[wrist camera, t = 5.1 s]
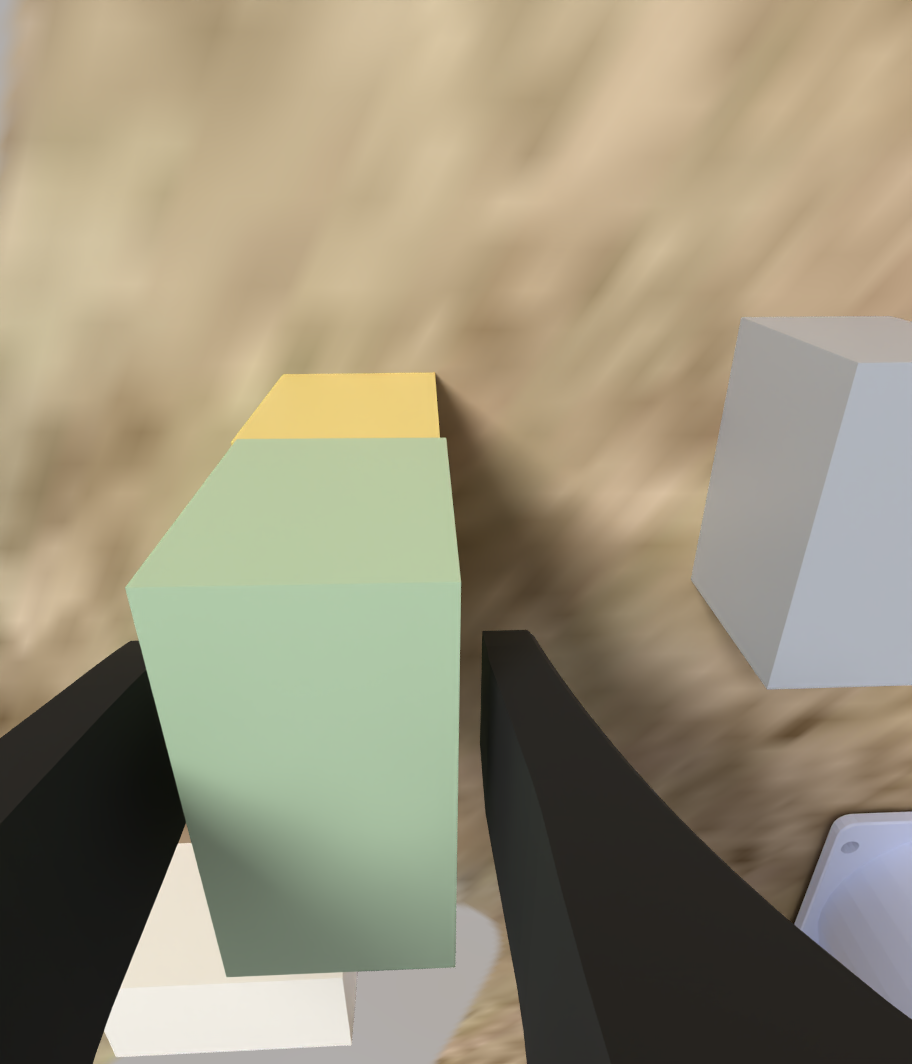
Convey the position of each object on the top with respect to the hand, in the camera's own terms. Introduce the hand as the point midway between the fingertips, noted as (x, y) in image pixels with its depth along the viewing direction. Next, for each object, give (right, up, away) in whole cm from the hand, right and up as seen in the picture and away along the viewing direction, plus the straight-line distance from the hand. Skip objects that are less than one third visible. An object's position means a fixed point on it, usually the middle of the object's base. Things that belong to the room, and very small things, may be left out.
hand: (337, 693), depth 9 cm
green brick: (0, +1, +2) cm, 2 cm away
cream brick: (-4, -8, +11) cm, 14 cm away
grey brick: (+9, +4, +5) cm, 11 cm away
